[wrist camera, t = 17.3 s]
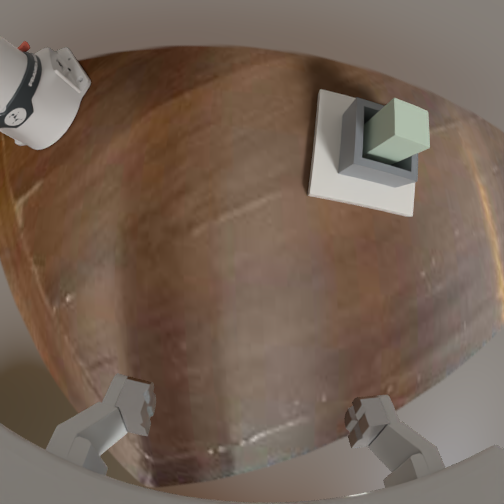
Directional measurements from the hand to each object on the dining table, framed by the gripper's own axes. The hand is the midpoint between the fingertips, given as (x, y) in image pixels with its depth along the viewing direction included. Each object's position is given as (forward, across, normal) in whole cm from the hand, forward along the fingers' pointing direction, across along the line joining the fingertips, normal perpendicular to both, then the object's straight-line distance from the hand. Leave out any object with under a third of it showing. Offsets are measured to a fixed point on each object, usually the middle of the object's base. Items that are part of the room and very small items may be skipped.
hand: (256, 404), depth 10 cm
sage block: (+31, -15, -11) cm, 36 cm away
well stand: (+32, -15, -10) cm, 37 cm away
